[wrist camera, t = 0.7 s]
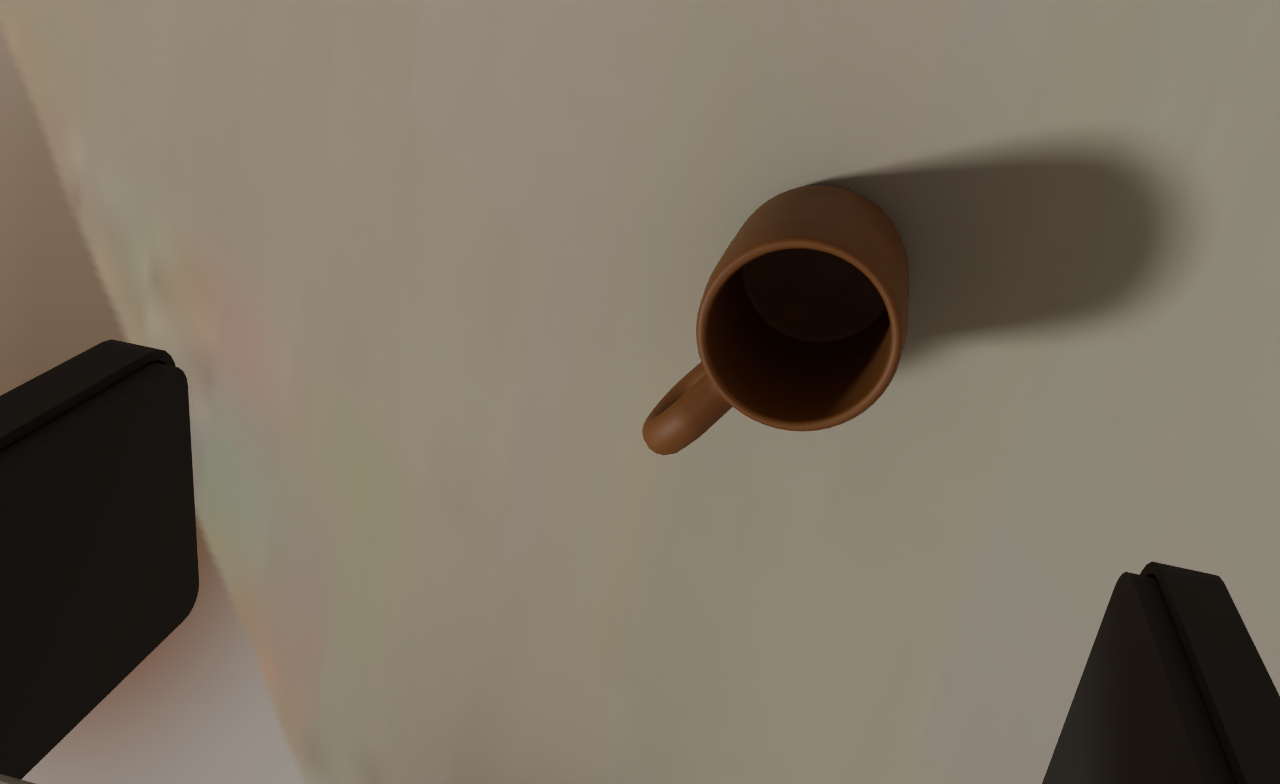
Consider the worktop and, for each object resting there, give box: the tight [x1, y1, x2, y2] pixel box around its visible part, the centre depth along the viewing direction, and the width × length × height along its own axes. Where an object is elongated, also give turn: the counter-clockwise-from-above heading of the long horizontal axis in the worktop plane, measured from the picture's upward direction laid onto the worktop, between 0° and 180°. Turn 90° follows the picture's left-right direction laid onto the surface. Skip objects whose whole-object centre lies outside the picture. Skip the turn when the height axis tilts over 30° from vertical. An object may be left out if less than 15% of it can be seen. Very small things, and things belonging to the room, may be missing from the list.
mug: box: [642, 186, 909, 455], centre depth 44 cm, size 12×8×9 cm, turn 134°
